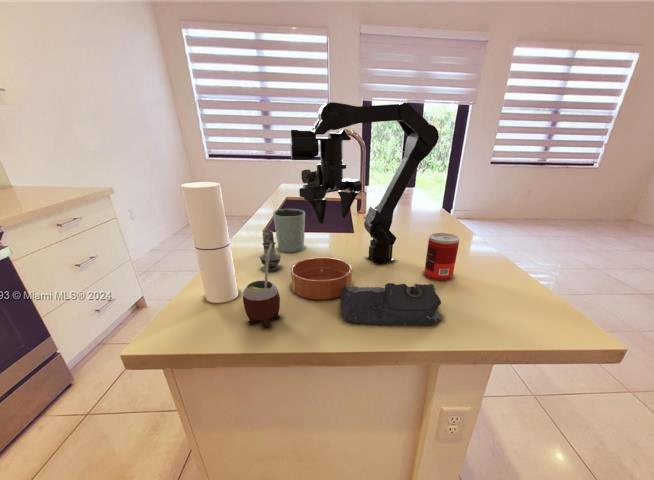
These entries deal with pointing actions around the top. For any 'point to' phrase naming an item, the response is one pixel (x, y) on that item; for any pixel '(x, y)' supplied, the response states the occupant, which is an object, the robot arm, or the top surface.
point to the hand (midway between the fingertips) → (332, 220)
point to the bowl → (320, 277)
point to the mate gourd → (262, 299)
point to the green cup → (289, 229)
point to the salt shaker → (273, 256)
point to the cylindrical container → (211, 240)
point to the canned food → (441, 256)
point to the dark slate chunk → (391, 305)
